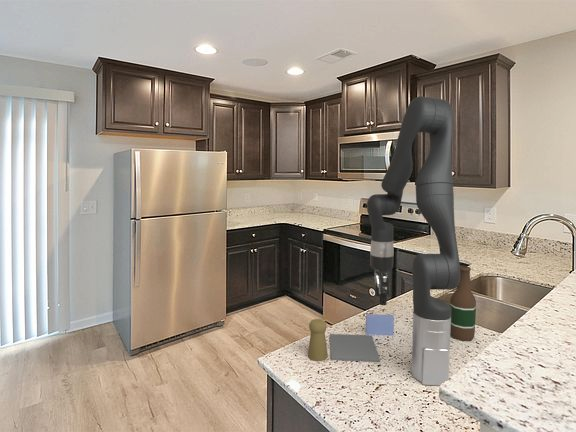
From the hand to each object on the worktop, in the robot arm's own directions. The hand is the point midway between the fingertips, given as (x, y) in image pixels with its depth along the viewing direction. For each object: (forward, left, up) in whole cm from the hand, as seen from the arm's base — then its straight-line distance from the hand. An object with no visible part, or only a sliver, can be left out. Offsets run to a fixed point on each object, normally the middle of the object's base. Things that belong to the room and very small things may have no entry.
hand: (380, 300), depth 116 cm
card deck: (0, 0, -12) cm, 12 cm away
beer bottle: (0, -27, -12) cm, 29 cm away
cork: (-17, +21, -12) cm, 30 cm away
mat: (-11, +10, -12) cm, 19 cm away
